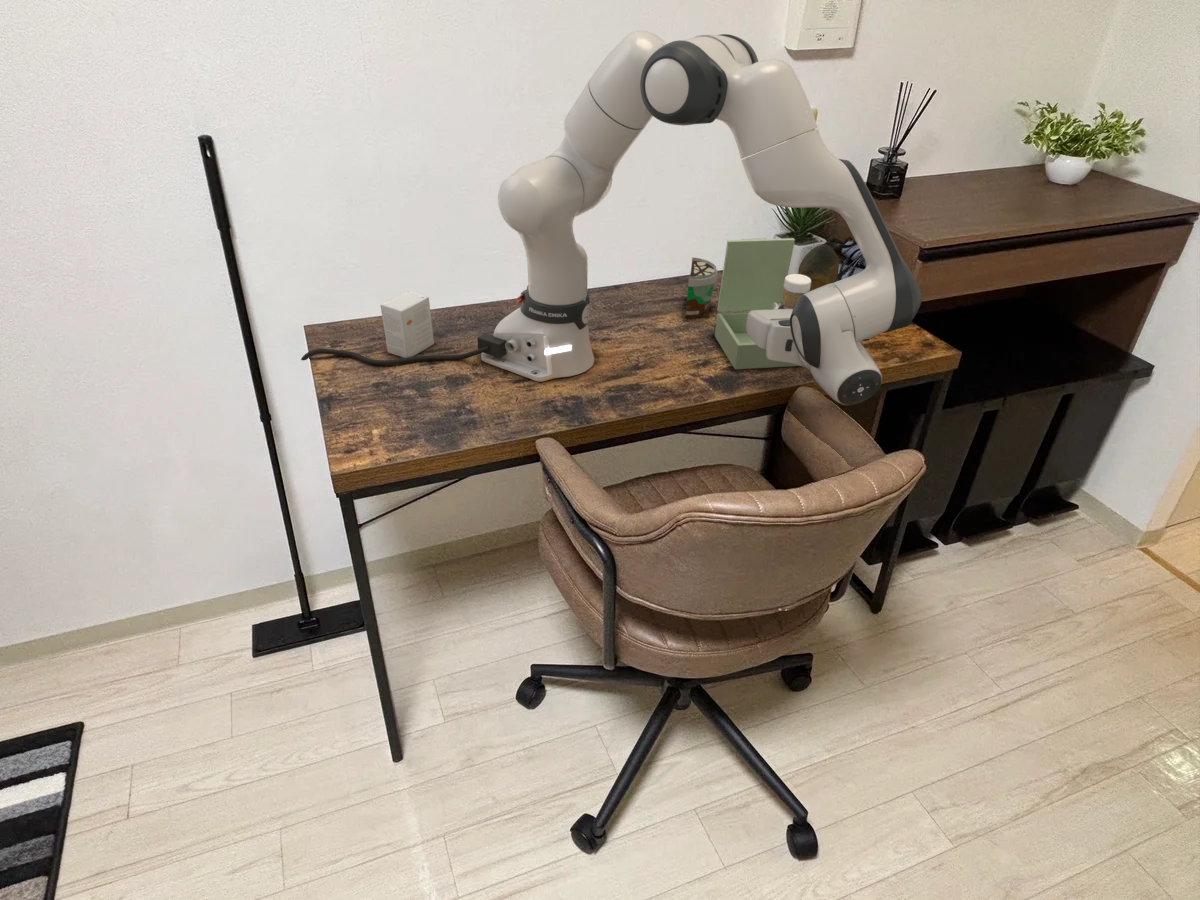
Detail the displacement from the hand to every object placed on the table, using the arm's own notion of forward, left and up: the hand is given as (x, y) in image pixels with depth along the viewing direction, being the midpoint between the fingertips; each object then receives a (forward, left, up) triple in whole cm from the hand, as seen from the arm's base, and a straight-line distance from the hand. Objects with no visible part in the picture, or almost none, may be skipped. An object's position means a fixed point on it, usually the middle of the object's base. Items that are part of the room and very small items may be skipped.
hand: (790, 305), depth 138 cm
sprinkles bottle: (0, -1, -8) cm, 8 cm away
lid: (-10, +17, -3) cm, 20 cm away
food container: (-23, +26, -16) cm, 38 cm away
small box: (-71, -17, -16) cm, 75 cm away
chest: (-7, +12, -16) cm, 21 cm away
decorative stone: (0, +38, -16) cm, 41 cm away
